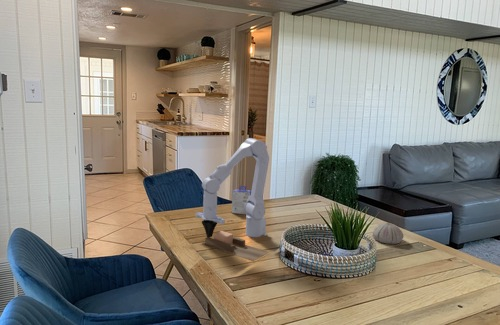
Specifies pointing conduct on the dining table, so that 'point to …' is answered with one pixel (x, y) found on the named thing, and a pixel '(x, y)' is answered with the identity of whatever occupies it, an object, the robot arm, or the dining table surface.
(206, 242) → the taupe railed channel
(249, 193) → the ink cartridge box
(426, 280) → the dining table surface
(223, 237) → the terracotta block
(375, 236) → the sea urchin shell
